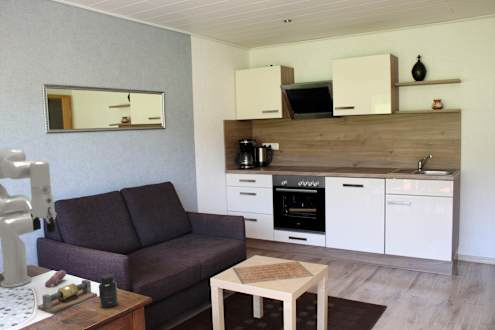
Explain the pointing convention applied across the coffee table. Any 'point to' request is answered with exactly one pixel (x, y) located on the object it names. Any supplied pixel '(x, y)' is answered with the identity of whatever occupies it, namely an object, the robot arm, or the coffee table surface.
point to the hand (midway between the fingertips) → (44, 230)
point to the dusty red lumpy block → (56, 278)
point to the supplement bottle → (108, 291)
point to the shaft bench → (56, 305)
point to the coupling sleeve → (68, 291)
